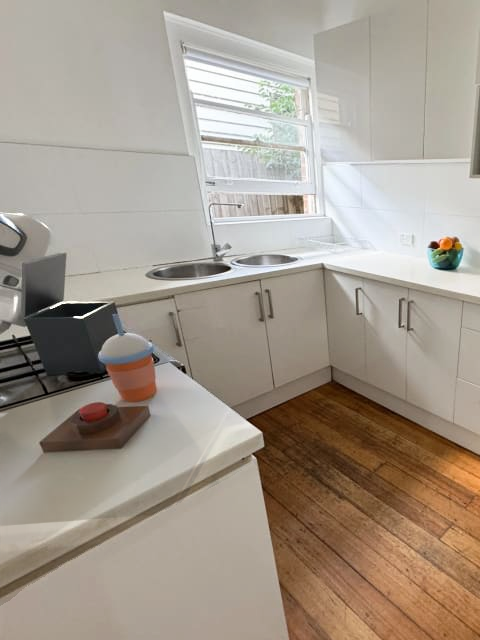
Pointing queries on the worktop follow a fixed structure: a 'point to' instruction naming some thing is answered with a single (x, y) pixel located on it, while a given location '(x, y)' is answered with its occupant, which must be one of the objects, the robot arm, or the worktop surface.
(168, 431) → the worktop surface
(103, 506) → the worktop surface
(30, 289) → the box lid
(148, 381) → the cup with straw
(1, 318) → the robot arm
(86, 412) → the button
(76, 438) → the block
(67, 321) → the grey bin
